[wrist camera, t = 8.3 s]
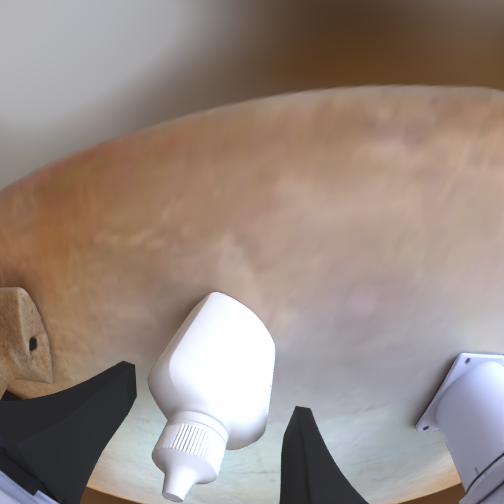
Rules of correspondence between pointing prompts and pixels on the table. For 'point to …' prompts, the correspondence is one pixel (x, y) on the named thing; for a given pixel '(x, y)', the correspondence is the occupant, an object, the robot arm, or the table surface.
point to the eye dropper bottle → (210, 391)
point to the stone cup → (22, 340)
